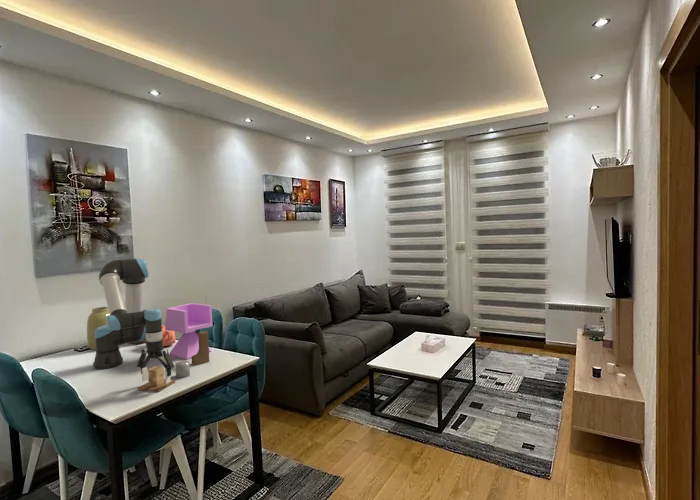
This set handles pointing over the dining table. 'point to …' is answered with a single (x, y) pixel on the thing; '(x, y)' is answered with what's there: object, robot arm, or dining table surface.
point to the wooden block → (202, 349)
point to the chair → (188, 327)
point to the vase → (96, 324)
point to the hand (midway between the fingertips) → (156, 381)
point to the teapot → (168, 337)
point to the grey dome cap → (182, 369)
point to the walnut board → (155, 388)
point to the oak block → (156, 376)
